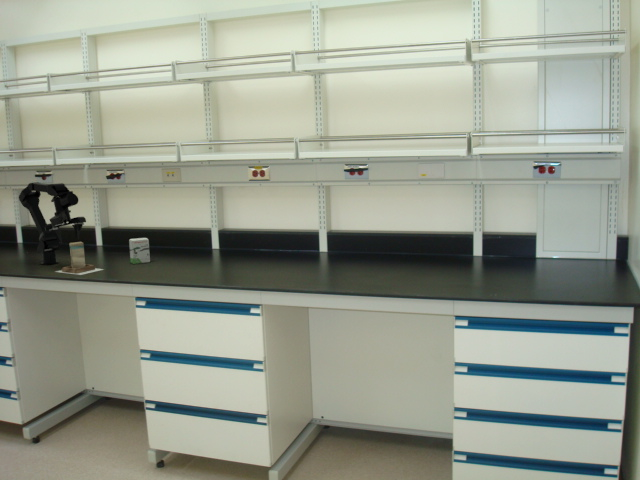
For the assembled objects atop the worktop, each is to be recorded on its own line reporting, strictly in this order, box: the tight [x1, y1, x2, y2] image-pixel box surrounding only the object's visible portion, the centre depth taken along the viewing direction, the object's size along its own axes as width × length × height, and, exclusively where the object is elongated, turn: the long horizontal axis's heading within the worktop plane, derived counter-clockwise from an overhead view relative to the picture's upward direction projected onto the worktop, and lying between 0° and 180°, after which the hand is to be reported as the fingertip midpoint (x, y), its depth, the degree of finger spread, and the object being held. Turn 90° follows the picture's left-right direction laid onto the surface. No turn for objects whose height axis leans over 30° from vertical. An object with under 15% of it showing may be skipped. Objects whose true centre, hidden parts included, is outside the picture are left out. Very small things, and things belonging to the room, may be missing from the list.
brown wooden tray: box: [61, 263, 96, 275], centre depth 270 cm, size 10×10×2 cm
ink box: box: [128, 237, 151, 265], centre depth 288 cm, size 9×5×12 cm, turn 123°
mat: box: [54, 267, 105, 276], centre depth 271 cm, size 18×13×1 cm
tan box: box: [69, 241, 86, 269], centre depth 269 cm, size 4×5×13 cm
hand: (69, 241), depth 280 cm, fingers open, 9 cm apart
